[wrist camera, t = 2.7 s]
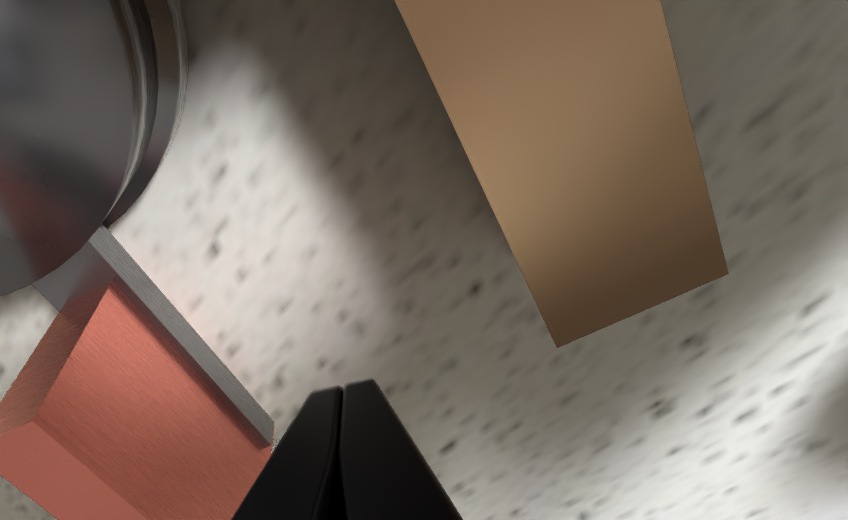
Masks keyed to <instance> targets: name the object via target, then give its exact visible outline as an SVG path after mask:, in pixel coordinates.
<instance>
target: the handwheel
mask: <svg viewBox="0 0 848 520" xmlns="http://www.w3.org/2000/svg"><path fill="white" fill-rule="evenodd" d="M158 87H159V83H158V65H157V52H156V46H155V41H154V36H153V31H152V25H151V20H150V17H149V14H148V11H147V8H146V4H145V1H144V0H0V296H3V295H6V294H9V293H11V292H13V291H16V290H18V289H20V288H23V287H25V286H28V285H30V284H32V285H33V286H34V287H35V288H36V289H37V290H38V291H39V292H40V293H41V294H42V295H43V296H44V297H45V298H46V299H47V300H48V301H49V302H50V303H51V304H52V305H53V306H54V307H55V308H56V309H57V310H58V311H59V313H58V315H57V316H56V318H55V319H54V321H53V323H52V324H51V326H50V327H49V329H48V330H47V332H46V333H45V335H44V336H43V338H42V339H41V341H40V343H39V344H38V346H37V347H36V349H35V350H34V352H33V353H32V355H31V356H30V358H29V359H28V361H27V363H26V364H25V366H24V367H23V369H22V370H21V372H20V373H19V375H18V376H17V378H16V379H15V381H14V382H13V384H12V386H11V387H10V389H9V390H8V392H7V393H6V395H5V396H4V398H3V399H2V401H1V402H0V475H1V476H2V477H3V478H5V479H6V480H7V481H9V482H10V483H11V484H13V485H14V486H15V487H16V488H18V489H19V490H20V491H22V492H23V493H24V494H26V495H27V496H28V497H29V498H31V499H32V500H33V501H35V502H36V503H37V504H38V505H40V506H41V507H42V508H44V509H45V510H46V511H48V512H49V513H50V514H51V515H53V516H54V517H55V518H57V519H58V520H231V518H232V517H233V515H234V514H235V512H236V510H237V509H238V507H239V506H240V504H241V502H242V501H243V499H244V498H245V496H246V494H247V493H248V491H249V490H250V488H251V486H252V485H253V483H254V482H255V480H256V478H257V477H258V475H259V474H260V472H261V470H262V469H263V467H264V466H265V464H266V462H267V461H268V459H269V458H270V456H271V451H272V443H273V434H274V421H273V420H272V419H271V418H270V417H269V416H268V414H267V413H266V412H265V411H264V410H263V409H262V408H261V406H260V405H259V404H258V403H257V402H256V401H255V399H254V398H253V397H252V396H251V395H250V394H249V393H248V391H247V390H246V389H245V388H244V387H243V386H242V384H241V383H240V382H239V381H238V380H237V379H236V378H235V376H234V375H233V374H232V373H231V372H230V371H229V369H228V368H227V367H226V366H225V365H224V364H223V362H222V361H221V360H220V359H219V358H218V357H217V356H216V354H215V353H214V352H213V351H212V350H211V349H210V347H209V346H208V345H207V344H206V343H205V342H204V341H203V339H202V338H201V337H200V336H199V335H198V334H197V332H196V331H195V330H194V329H193V328H192V327H191V326H190V324H189V323H188V322H187V321H186V320H185V319H184V317H183V316H182V315H181V314H180V313H179V312H178V311H177V309H176V308H175V307H174V306H173V305H172V304H171V302H170V301H169V300H168V299H167V298H166V297H165V295H164V294H163V293H162V292H161V291H160V290H159V289H158V287H157V286H156V285H155V284H154V283H153V282H152V280H151V279H150V278H149V277H148V276H147V275H146V274H145V272H144V271H143V270H142V269H141V268H140V267H139V265H138V264H137V263H136V262H135V261H134V260H133V259H132V257H131V256H130V255H129V254H128V253H127V252H126V250H125V249H124V248H123V247H122V246H121V245H120V244H119V242H118V241H117V240H116V239H115V238H114V237H113V235H112V234H111V233H110V232H109V231H108V230H107V229H106V227H105V226H104V225H103V224H102V222H103V221H104V219H105V218H106V217H107V215H108V214H109V212H110V211H111V209H112V208H113V206H114V205H115V204H116V202H117V201H118V199H119V198H120V196H121V195H122V194H123V192H124V191H125V189H126V188H127V186H128V184H129V183H130V181H131V180H132V178H133V176H134V175H135V173H136V171H137V170H138V168H139V167H140V164H141V162H142V159H143V157H144V155H145V152H146V150H147V147H148V145H149V142H150V139H151V134H152V130H153V126H154V122H155V118H156V111H157V99H158Z"/></svg>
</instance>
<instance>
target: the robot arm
mask: <svg viewBox="0 0 848 520" xmlns="http://www.w3.org/2000/svg"><path fill="white" fill-rule="evenodd" d="M231 520H463V519H462V517H461V515H460V514H459V512H458V511H457V509H456V508H455V506H454V504H453V503H452V501H451V500H450V498H449V496H448V495H447V493H446V492H445V490H444V489H443V487H442V485H441V484H440V482H439V481H438V479H437V478H436V476H435V474H434V473H433V471H432V470H431V468H430V466H429V465H428V463H427V462H426V460H425V459H424V457H423V455H422V454H421V452H420V451H419V449H418V448H417V446H416V444H415V443H414V441H413V440H412V438H411V436H410V435H409V433H408V432H407V430H406V429H405V427H404V425H403V424H402V422H401V421H400V419H399V417H398V416H397V414H396V413H395V411H394V410H393V408H392V406H391V405H390V403H389V402H388V400H387V399H386V397H385V395H384V394H383V392H382V391H381V389H380V387H379V386H378V384H377V383H376V381H375V380H374V379H371V378H369V379H364V380H360V381H355V382H350V383H347V384H346V385H345V386H344V387H343V388H342V387H341V386H339V385H336V386H332V387H327V388H322V389H318V390H314V391H312V392H311V393H310V394H309V395H308V397H307V399H306V400H305V402H304V403H303V405H302V407H301V408H300V410H299V411H298V413H297V415H296V416H295V418H294V419H293V421H292V423H291V424H290V426H289V427H288V429H287V431H286V432H285V434H284V435H283V437H282V439H281V440H280V442H279V443H278V445H277V446H276V448H275V450H274V451H273V453H272V454H271V456H270V458H269V459H268V461H267V462H266V464H265V466H264V467H263V469H262V470H261V472H260V474H259V475H258V477H257V478H256V480H255V482H254V483H253V485H252V486H251V488H250V490H249V491H248V493H247V494H246V496H245V498H244V499H243V501H242V502H241V504H240V506H239V507H238V509H237V510H236V512H235V514H234V515H233V517H232V518H231Z"/></svg>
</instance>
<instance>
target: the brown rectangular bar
mask: <svg viewBox="0 0 848 520" xmlns="http://www.w3.org/2000/svg"><path fill="white" fill-rule="evenodd" d="M395 2H396V5H397V7H398V9H399V11H400V13H401V15H402V17H403V20H404V22H405V24H406V26H407V28H408V30H409V32H410V35H411V37H412V39H413V41H414V43H415V45H416V47H417V49H418V52H419V54H420V56H421V58H422V60H423V62H424V64H425V67H426V69H427V71H428V73H429V75H430V77H431V79H432V82H433V84H434V86H435V88H436V90H437V92H438V94H439V97H440V99H441V101H442V103H443V105H444V107H445V109H446V112H447V114H448V116H449V118H450V120H451V122H452V124H453V126H454V129H455V131H456V133H457V135H458V137H459V139H460V141H461V144H462V146H463V148H464V150H465V152H466V154H467V156H468V159H469V161H470V163H471V165H472V167H473V169H474V171H475V174H476V176H477V178H478V180H479V182H480V184H481V186H482V189H483V191H484V193H485V195H486V197H487V199H488V201H489V203H490V206H491V208H492V210H493V212H494V214H495V216H496V218H497V221H498V223H499V225H500V227H501V229H502V231H503V233H504V236H505V238H506V240H507V242H508V244H509V246H510V248H511V251H512V253H513V255H514V257H515V259H516V261H517V263H518V266H519V268H520V270H521V272H522V274H523V276H524V278H525V280H526V283H527V285H528V287H529V289H530V291H531V293H532V295H533V298H534V300H535V302H536V304H537V306H538V308H539V310H540V313H541V315H542V317H543V319H544V321H545V323H546V325H547V328H548V330H549V332H550V334H551V336H552V338H553V340H554V342H555V345H556V347H557V348H558V347H561V346H563V345H565V344H568V343H570V342H572V341H575V340H577V339H579V338H581V337H584V336H586V335H588V334H591V333H593V332H595V331H598V330H600V329H602V328H605V327H607V326H609V325H612V324H614V323H616V322H618V321H621V320H623V319H625V318H628V317H630V316H632V315H635V314H637V313H639V312H642V311H644V310H646V309H648V308H651V307H653V306H655V305H658V304H660V303H662V302H665V301H667V300H669V299H672V298H674V297H676V296H678V295H681V294H683V293H685V292H688V291H690V290H692V289H695V288H697V287H699V286H702V285H704V284H706V283H709V282H711V281H713V280H715V279H718V278H720V277H722V276H725V275H727V274H728V270H727V266H726V262H725V258H724V254H723V250H722V246H721V242H720V238H719V234H718V230H717V226H716V222H715V218H714V214H713V210H712V206H711V202H710V198H709V194H708V190H707V186H706V182H705V178H704V174H703V170H702V166H701V162H700V158H699V154H698V150H697V146H696V142H695V138H694V134H693V130H692V126H691V122H690V118H689V114H688V110H687V106H686V102H685V98H684V94H683V89H682V85H681V81H680V77H679V73H678V69H677V65H676V61H675V57H674V53H673V49H672V45H671V41H670V37H669V33H668V29H667V25H666V21H665V17H664V13H663V9H662V5H661V1H660V0H395Z"/></svg>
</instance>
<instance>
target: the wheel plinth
mask: <svg viewBox="0 0 848 520" xmlns="http://www.w3.org/2000/svg"><path fill="white" fill-rule="evenodd" d="M144 1H145V4H146V8H147V11H148V14H149V17H150V20H151V25H152V31H153V36H154V41H155V46H156V52H157V65H158V83H159V87H158V99H157V111H156V118H155V122H154V126H153V130H152V134H151V139H150V142H149V145H148V147H147V150H146V152H145V155H144V157H143V159H142V162H141V164H140V167H139V168H138V170H137V171H136V173H135V175H134V176H133V178H132V180H131V181H130V183H129V184H128V186H127V188H126V189H125V191H124V192H123V194H122V195H121V196H120V198H119V199H118V201H117V202H116V204H115V205H114V206H113V208H112V209H111V211H110V212H109V214H108V215H107V217H106V218H105V219H104V221H103V222H102V224H103V225H104V226H105V227H106V228H107V227H108V226H109V225H110V224H112V223H113V222H114V221H115V220H116V219H118V218H119V217H120V216H121V215H122V214H124V213H125V212H126V211H127V209H128V208H129V207H130V206H131V205H132V204H133V203H134V202H135V200H136V199H137V198H138V197H139V196H140V195H141V194H142V192H143V191H144V189H145V188H146V186H147V184H148V183H149V181H150V180H151V178H152V177H153V175H154V173H155V172H156V170H157V169H158V167H159V165H160V164H161V162H162V161H163V159H164V157H165V156H166V154H167V153H168V151H169V148H170V146H171V144H172V141H173V139H174V137H175V134H176V132H177V130H178V127H179V123H180V119H181V115H182V111H183V107H184V103H185V97H186V88H187V78H188V52H187V37H186V31H185V25H184V19H183V13H182V7H181V4H180V0H144Z"/></svg>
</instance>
